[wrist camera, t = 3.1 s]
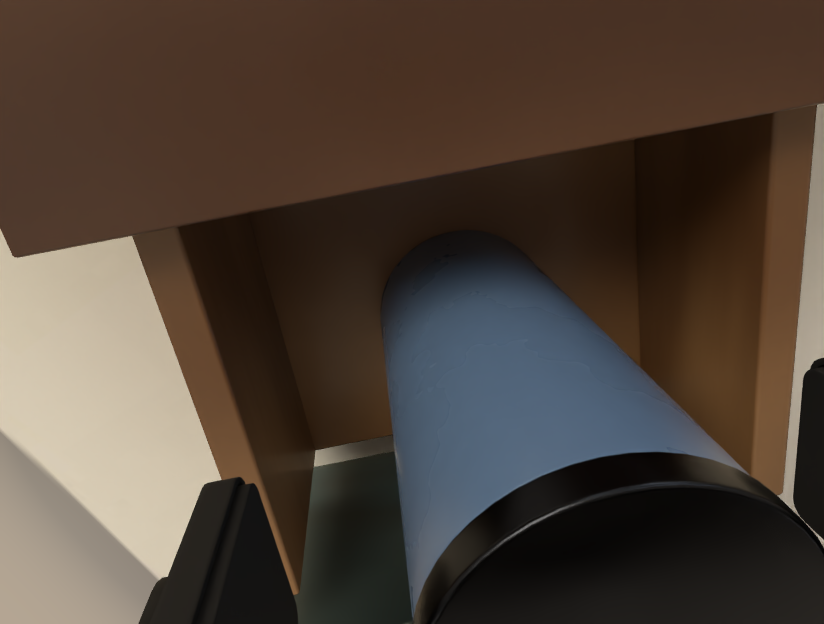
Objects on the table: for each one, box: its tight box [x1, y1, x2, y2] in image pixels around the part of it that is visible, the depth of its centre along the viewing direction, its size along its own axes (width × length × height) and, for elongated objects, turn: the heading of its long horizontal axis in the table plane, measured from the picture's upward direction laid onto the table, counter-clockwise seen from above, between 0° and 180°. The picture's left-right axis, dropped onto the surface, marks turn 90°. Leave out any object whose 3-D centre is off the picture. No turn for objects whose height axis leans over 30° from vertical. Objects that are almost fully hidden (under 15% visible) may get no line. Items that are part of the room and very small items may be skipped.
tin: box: [380, 230, 824, 624], centre depth 12 cm, size 5×5×11 cm
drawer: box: [133, 105, 817, 624], centre depth 15 cm, size 19×13×7 cm
